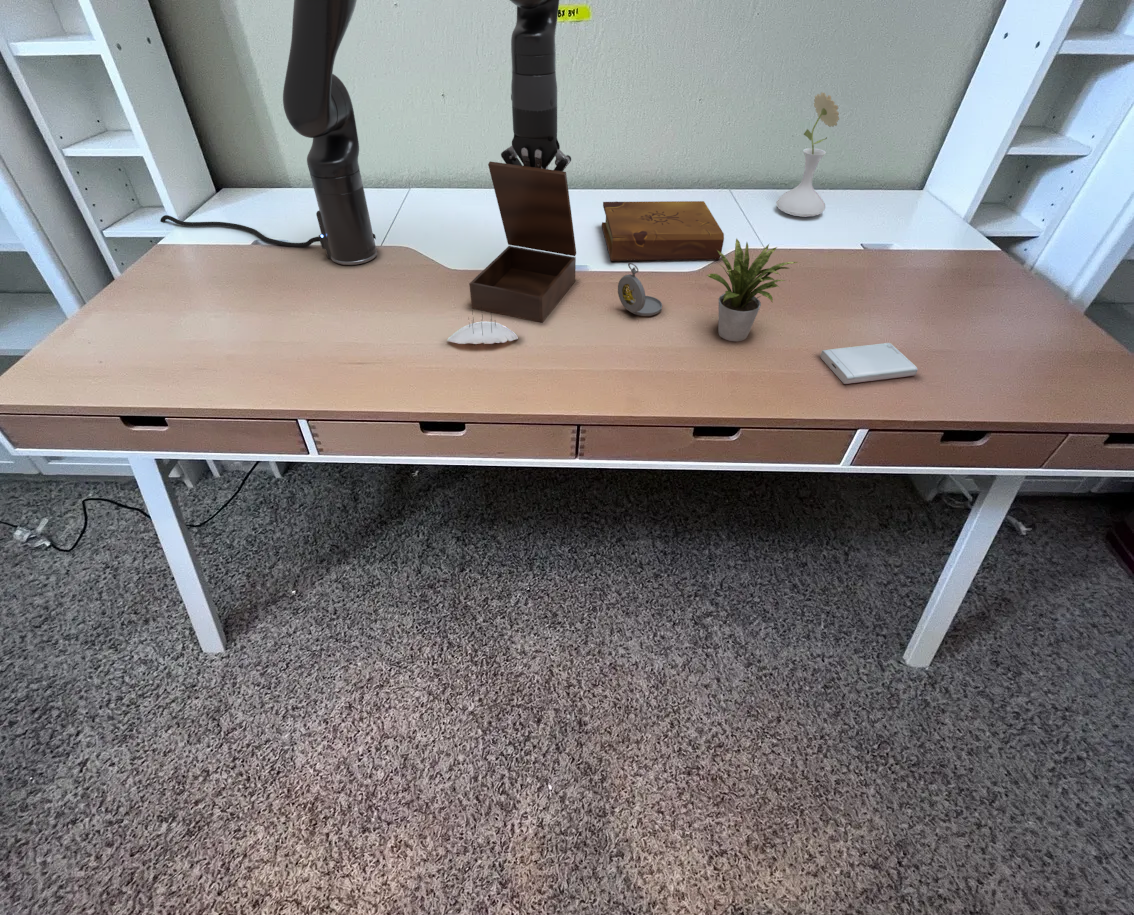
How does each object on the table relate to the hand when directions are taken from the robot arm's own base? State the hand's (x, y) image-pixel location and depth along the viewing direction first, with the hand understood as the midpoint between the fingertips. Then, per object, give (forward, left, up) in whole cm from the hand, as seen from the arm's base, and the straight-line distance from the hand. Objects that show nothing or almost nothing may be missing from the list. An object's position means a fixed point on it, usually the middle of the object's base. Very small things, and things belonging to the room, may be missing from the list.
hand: (537, 207), depth 115 cm
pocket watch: (+22, -5, -14) cm, 27 cm away
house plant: (+40, -8, -14) cm, 43 cm away
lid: (0, -2, 0) cm, 2 cm away
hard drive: (+62, -9, -14) cm, 64 cm away
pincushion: (0, -25, -14) cm, 29 cm away
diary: (+18, +25, -14) cm, 34 cm away
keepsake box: (0, -7, -14) cm, 16 cm away
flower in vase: (+45, +56, -14) cm, 73 cm away
